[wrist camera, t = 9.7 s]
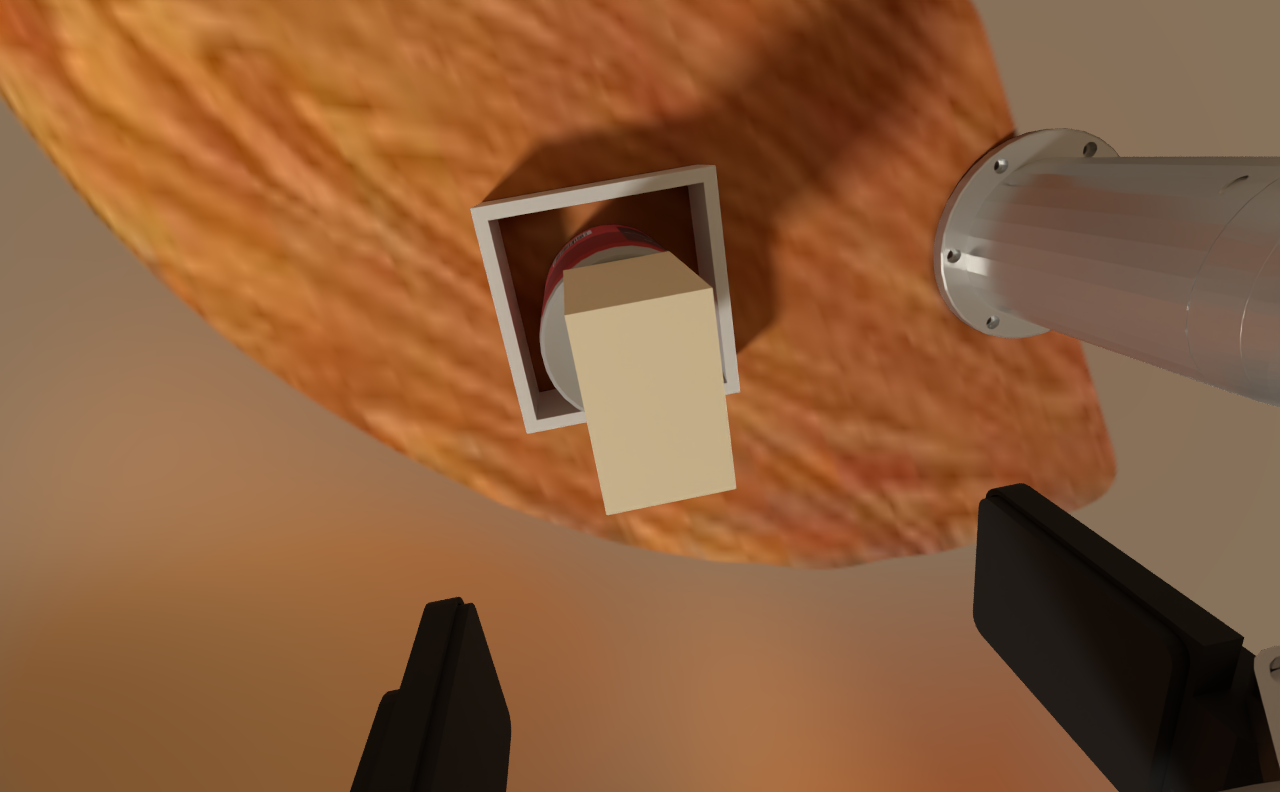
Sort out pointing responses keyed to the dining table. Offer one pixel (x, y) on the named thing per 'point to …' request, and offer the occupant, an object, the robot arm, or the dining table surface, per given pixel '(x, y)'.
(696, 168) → the box
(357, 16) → the dining table surface
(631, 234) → the canned food
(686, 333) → the plain beige cuboid
